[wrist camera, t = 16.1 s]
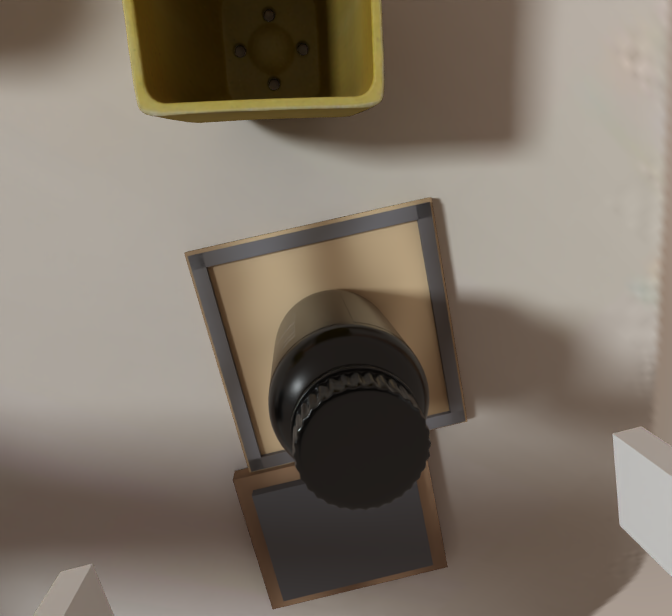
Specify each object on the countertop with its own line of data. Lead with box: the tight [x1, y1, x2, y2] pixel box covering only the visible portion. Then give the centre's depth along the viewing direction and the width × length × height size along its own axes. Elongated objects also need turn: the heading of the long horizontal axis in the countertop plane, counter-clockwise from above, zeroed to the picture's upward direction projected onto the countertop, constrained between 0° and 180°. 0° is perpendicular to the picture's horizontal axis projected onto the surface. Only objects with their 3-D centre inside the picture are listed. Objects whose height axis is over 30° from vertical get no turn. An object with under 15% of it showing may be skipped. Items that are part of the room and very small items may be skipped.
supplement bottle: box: [268, 290, 431, 510], centre depth 21 cm, size 7×7×12 cm
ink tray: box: [233, 460, 448, 609], centre depth 30 cm, size 12×10×1 cm
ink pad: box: [252, 479, 433, 601], centre depth 29 cm, size 10×8×1 cm
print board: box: [184, 198, 467, 473], centre depth 27 cm, size 14×14×1 cm
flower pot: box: [122, 0, 384, 123], centre depth 20 cm, size 9×9×9 cm
